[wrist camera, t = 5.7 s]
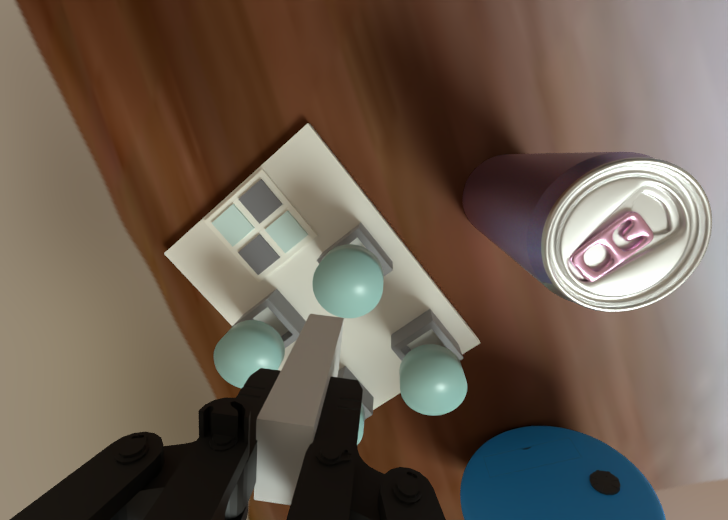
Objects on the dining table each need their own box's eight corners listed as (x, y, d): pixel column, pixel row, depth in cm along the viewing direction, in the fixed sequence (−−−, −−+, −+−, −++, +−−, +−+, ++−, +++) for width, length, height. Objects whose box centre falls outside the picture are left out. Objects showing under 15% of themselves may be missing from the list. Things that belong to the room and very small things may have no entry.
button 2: (266, 296, 27) (245, 319, 23) (304, 338, 28) (290, 367, 24) (226, 328, 28) (200, 355, 24) (264, 367, 29) (244, 399, 25)
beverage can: (444, 193, 27) (504, 233, 13) (509, 136, 26) (658, 111, 11) (493, 249, 28) (599, 346, 14) (558, 198, 27) (753, 246, 12)
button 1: (358, 224, 25) (352, 236, 21) (396, 272, 26) (397, 292, 22) (311, 261, 26) (298, 279, 22) (349, 305, 27) (342, 330, 23)
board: (310, 124, 26) (300, 120, 24) (478, 338, 30) (487, 357, 27) (169, 251, 30) (146, 261, 27) (335, 427, 34) (330, 452, 31)
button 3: (434, 318, 27) (441, 346, 23) (467, 360, 27) (480, 394, 23) (387, 349, 28) (386, 381, 24) (421, 389, 28) (425, 425, 24)
